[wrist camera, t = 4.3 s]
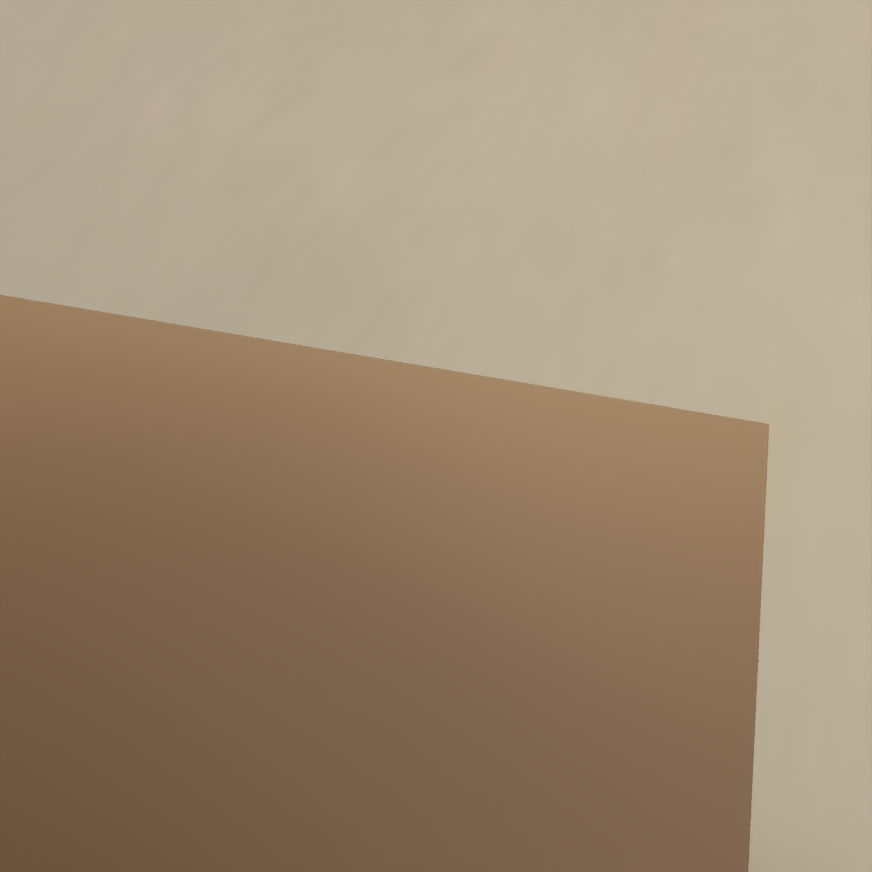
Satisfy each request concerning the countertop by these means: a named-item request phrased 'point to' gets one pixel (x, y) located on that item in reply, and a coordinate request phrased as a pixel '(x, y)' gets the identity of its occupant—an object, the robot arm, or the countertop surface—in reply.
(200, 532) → the block
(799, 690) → the countertop surface
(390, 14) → the countertop surface
